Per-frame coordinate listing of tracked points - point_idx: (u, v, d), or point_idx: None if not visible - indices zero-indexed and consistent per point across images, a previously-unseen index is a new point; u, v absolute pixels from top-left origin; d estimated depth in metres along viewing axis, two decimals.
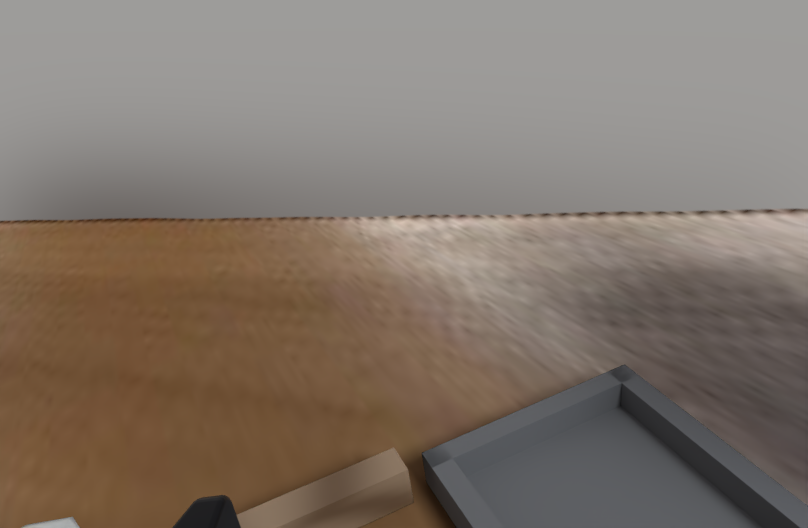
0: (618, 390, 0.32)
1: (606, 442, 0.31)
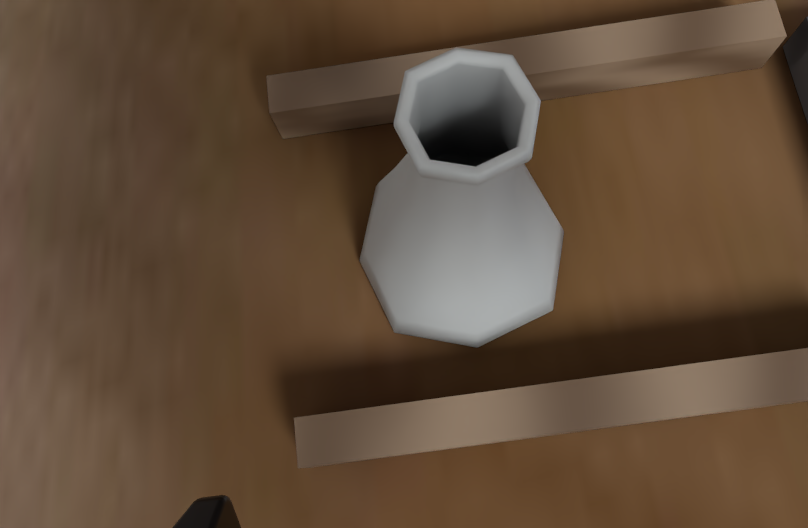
0: None
1: None
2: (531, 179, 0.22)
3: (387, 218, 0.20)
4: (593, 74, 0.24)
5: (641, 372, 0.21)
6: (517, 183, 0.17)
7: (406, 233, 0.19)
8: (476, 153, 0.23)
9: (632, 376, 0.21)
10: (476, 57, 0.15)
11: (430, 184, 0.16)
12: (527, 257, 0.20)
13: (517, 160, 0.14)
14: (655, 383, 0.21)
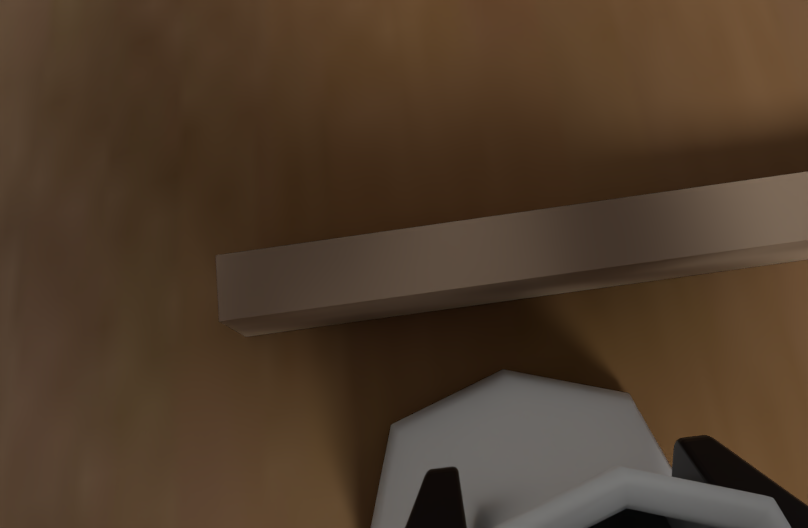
0: None
1: None
2: (660, 464, 0.13)
3: None
4: (743, 255, 0.15)
5: None
6: None
7: None
8: None
9: None
10: (677, 501, 0.06)
11: None
12: None
13: None
14: None
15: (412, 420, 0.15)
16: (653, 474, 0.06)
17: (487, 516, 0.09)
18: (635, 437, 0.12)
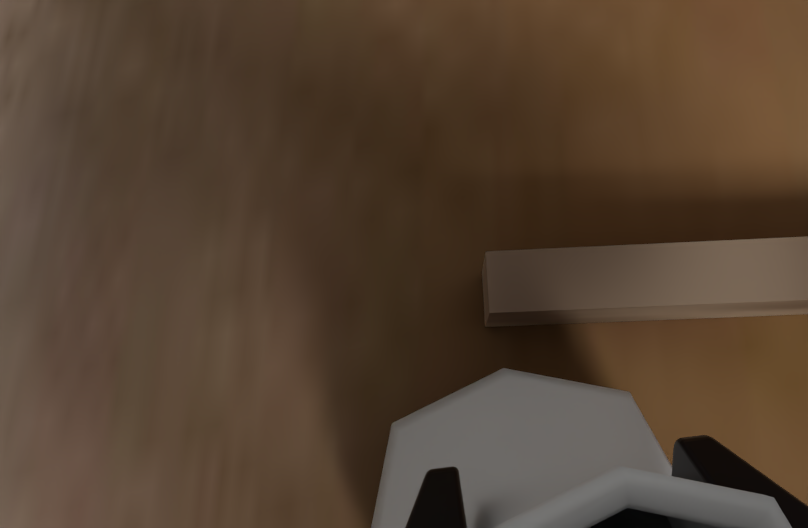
0: None
1: None
2: (661, 463, 0.13)
3: None
4: None
5: None
6: None
7: None
8: None
9: None
10: (678, 500, 0.06)
11: None
12: None
13: None
14: None
15: (413, 419, 0.15)
16: (654, 474, 0.06)
17: (488, 515, 0.09)
18: (636, 436, 0.12)
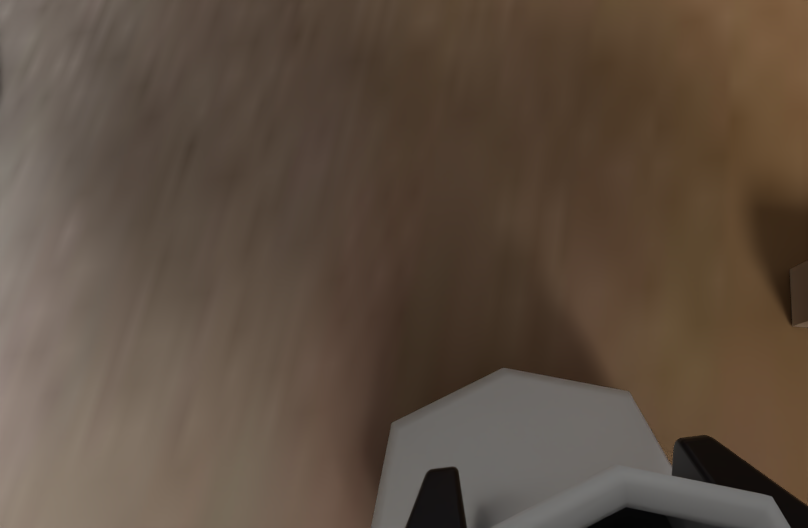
0: None
1: None
2: (660, 462, 0.13)
3: None
4: None
5: None
6: None
7: None
8: None
9: None
10: (676, 500, 0.06)
11: None
12: None
13: None
14: None
15: (412, 418, 0.15)
16: (652, 473, 0.06)
17: (487, 514, 0.09)
18: (635, 435, 0.12)
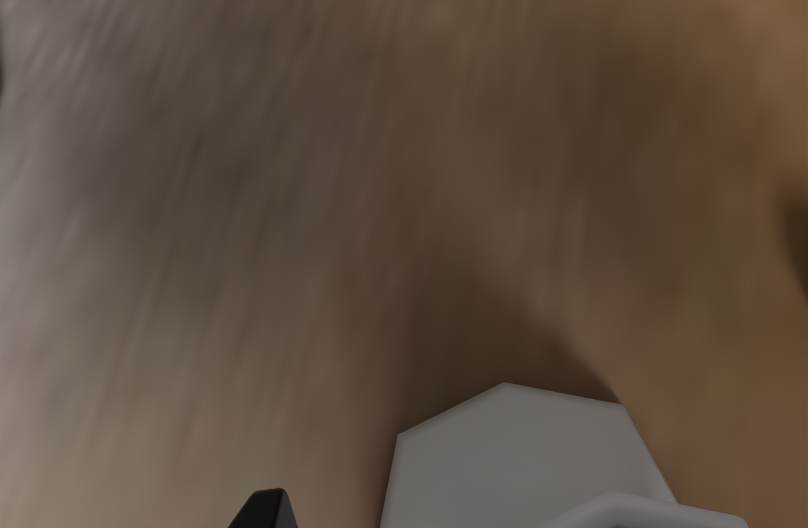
0: None
1: None
2: (652, 474, 0.14)
3: None
4: None
5: None
6: None
7: None
8: None
9: None
10: (660, 521, 0.07)
11: None
12: None
13: None
14: None
15: (418, 431, 0.16)
16: (639, 498, 0.07)
17: None
18: (628, 450, 0.13)
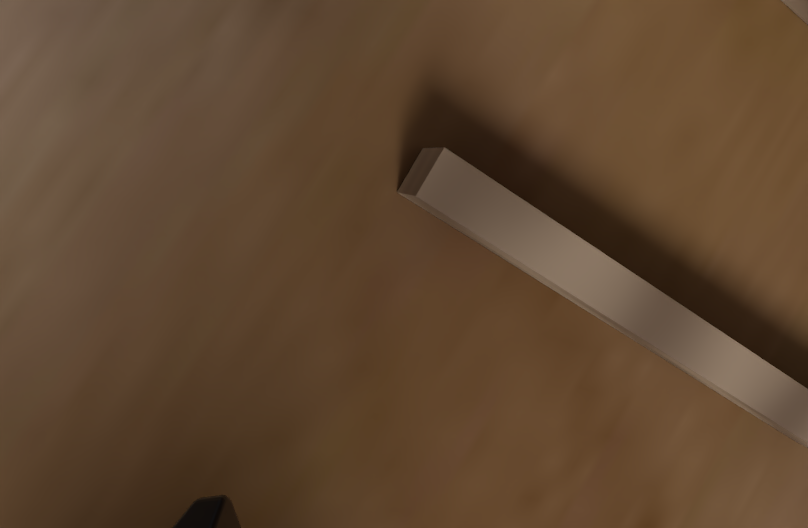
0: None
1: None
2: None
3: None
4: None
5: (718, 332, 0.21)
6: None
7: None
8: None
9: (710, 329, 0.21)
10: None
11: None
12: None
13: None
14: (719, 347, 0.21)
15: None
16: None
17: None
18: None
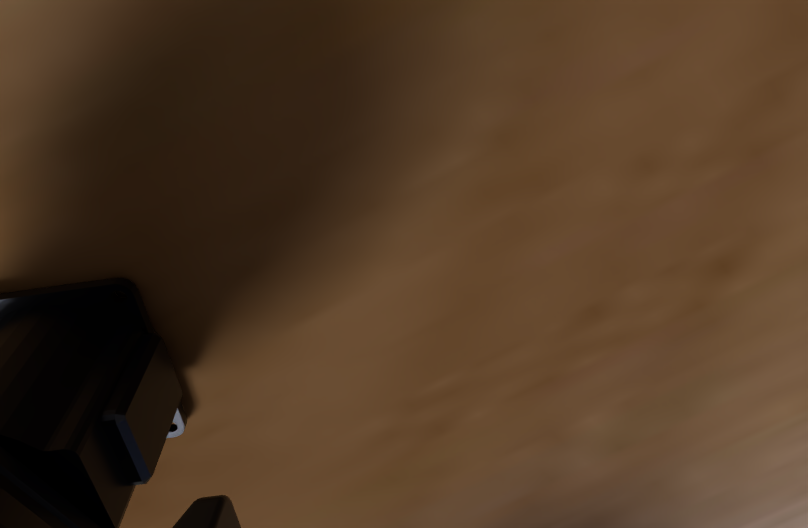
0: None
1: None
2: None
3: None
4: None
5: None
6: None
7: None
8: None
9: None
10: None
11: None
12: None
13: None
14: None
15: None
16: None
17: None
18: None
